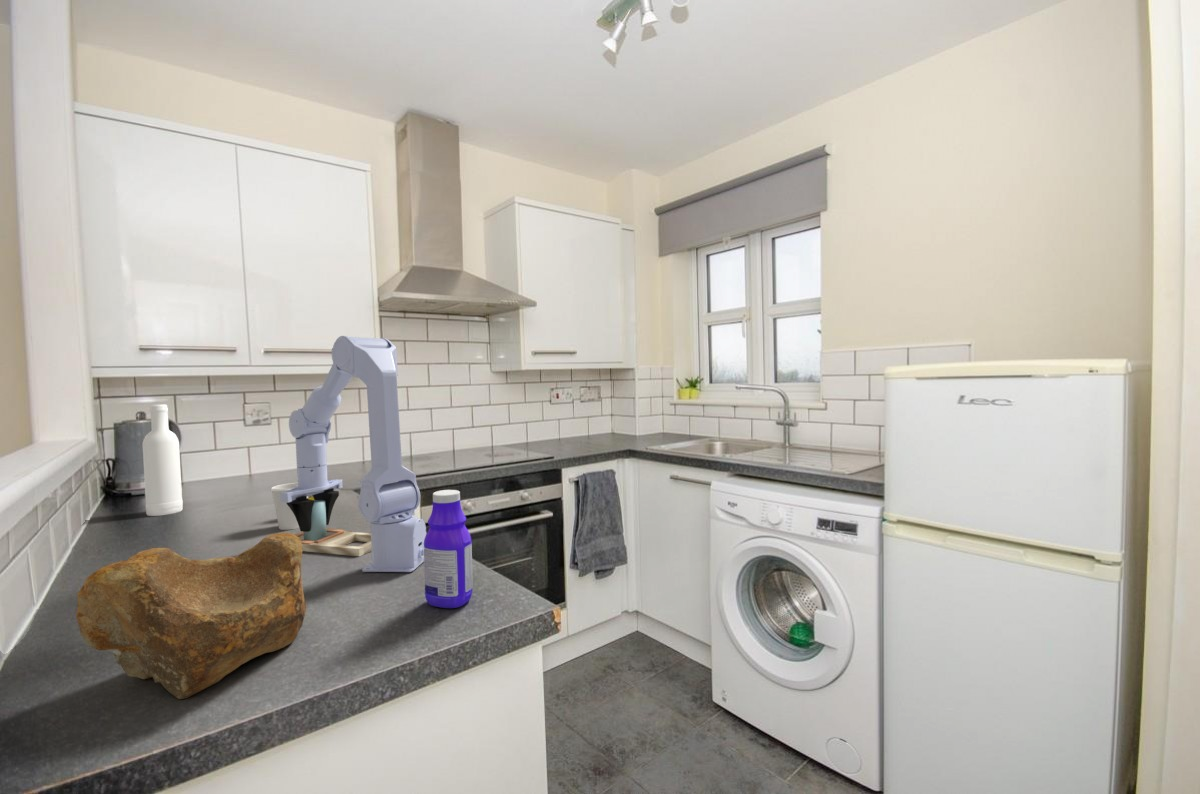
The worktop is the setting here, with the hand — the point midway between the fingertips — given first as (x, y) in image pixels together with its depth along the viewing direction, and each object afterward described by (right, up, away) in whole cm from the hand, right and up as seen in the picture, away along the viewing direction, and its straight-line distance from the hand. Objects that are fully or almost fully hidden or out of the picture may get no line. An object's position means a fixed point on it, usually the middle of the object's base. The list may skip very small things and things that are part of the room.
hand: (314, 527), depth 114 cm
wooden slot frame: (+5, -3, -2) cm, 6 cm away
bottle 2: (+38, -4, -32) cm, 50 cm away
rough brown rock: (+14, -5, -49) cm, 52 cm away
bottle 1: (-59, -4, +32) cm, 67 cm away
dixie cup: (-13, -3, +14) cm, 20 cm away
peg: (0, -2, 0) cm, 2 cm away
